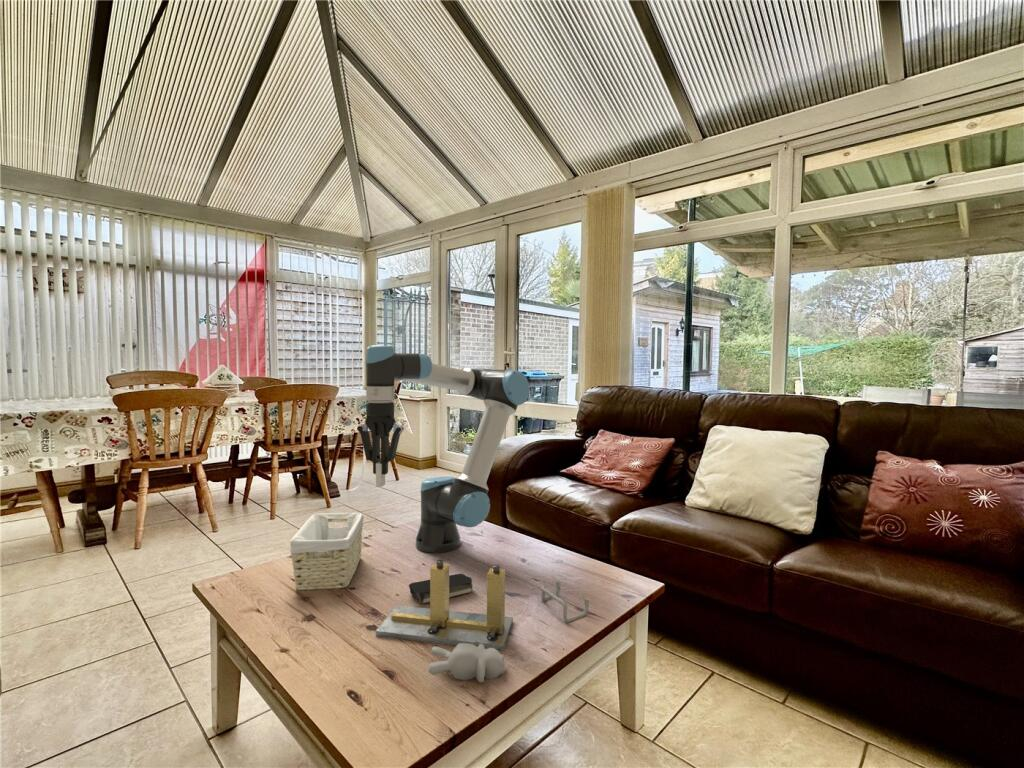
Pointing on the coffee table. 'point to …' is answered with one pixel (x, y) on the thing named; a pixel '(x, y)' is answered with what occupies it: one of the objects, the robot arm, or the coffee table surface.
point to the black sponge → (456, 587)
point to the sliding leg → (439, 594)
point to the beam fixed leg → (493, 607)
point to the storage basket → (326, 551)
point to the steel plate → (443, 629)
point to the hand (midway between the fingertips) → (380, 485)
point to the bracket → (563, 602)
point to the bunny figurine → (469, 662)
